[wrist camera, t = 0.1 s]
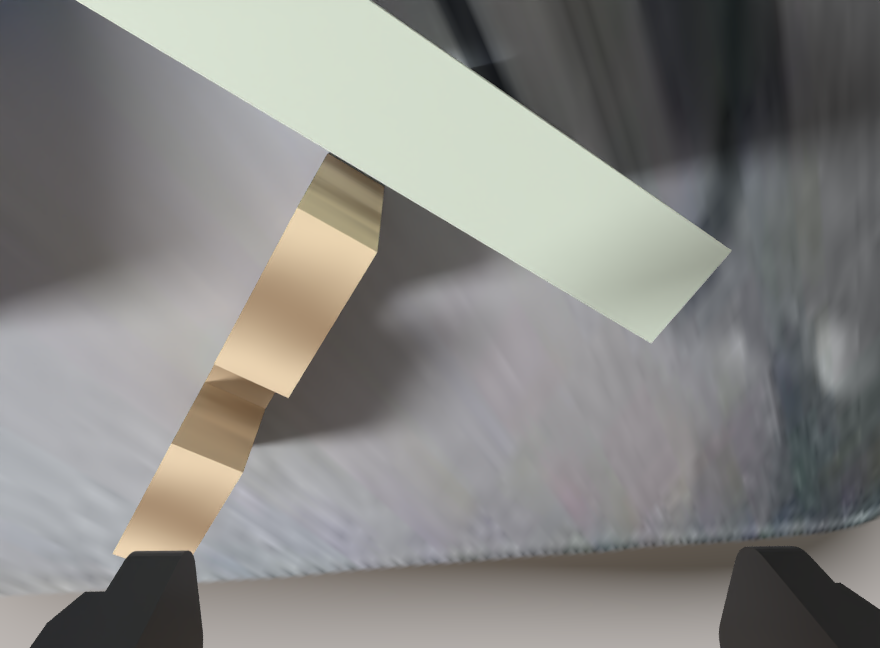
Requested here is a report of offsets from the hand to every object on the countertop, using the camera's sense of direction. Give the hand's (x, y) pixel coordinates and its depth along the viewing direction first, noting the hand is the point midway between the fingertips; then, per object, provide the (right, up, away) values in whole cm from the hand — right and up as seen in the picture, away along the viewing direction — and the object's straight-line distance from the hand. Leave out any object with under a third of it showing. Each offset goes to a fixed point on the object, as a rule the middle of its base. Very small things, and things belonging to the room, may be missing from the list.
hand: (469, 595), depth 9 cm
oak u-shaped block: (-9, +4, +22) cm, 25 cm away
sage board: (-2, +15, +17) cm, 23 cm away
